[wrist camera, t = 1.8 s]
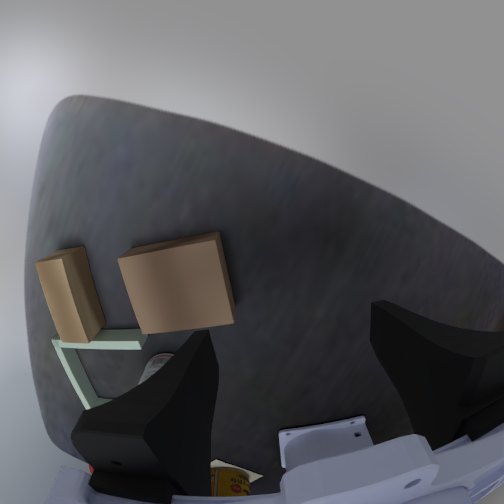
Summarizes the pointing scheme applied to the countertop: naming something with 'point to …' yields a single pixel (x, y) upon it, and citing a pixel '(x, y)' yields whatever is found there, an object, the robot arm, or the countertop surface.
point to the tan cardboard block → (179, 284)
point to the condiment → (230, 480)
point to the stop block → (71, 295)
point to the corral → (100, 341)
